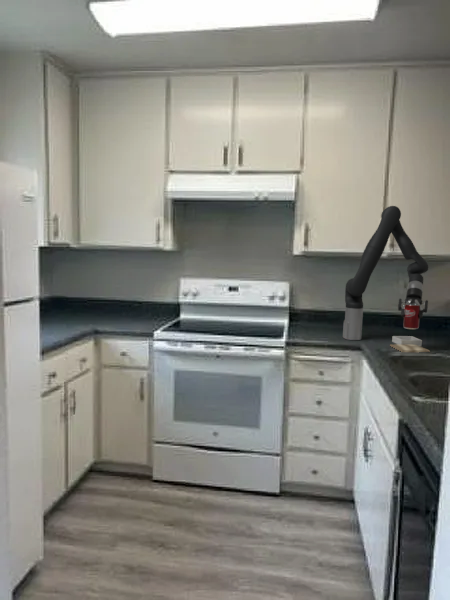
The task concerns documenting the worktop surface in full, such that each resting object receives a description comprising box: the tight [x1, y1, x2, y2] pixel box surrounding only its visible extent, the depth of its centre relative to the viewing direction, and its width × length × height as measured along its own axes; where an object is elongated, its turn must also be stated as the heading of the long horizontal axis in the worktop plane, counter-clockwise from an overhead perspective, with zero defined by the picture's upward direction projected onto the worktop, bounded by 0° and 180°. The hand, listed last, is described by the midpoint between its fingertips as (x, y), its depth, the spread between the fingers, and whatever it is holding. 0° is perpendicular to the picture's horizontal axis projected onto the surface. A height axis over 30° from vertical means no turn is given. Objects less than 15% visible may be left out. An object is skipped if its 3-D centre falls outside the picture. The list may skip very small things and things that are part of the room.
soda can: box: [402, 303, 420, 330], centre depth 244 cm, size 7×7×12 cm
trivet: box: [389, 343, 431, 353], centre depth 245 cm, size 14×14×1 cm
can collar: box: [391, 335, 423, 347], centre depth 259 cm, size 11×11×3 cm
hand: (411, 317), depth 242 cm, fingers closed on soda can, 7 cm apart
